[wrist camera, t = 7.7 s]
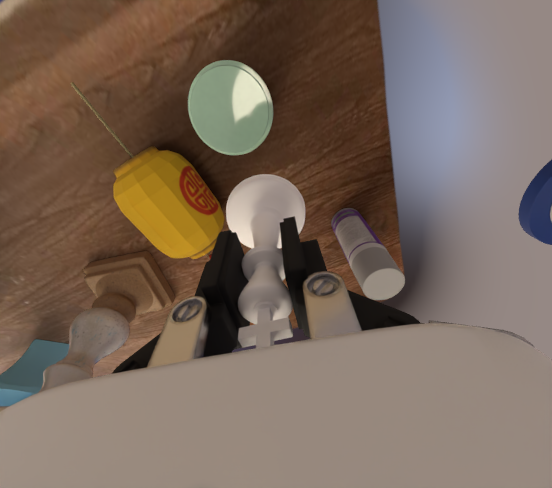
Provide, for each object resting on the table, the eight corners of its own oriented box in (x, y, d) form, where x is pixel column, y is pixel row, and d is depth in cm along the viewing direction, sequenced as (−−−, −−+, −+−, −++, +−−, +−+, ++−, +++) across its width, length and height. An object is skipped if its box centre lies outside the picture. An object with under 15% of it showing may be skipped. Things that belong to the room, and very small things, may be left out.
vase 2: (74, 344, 53) (-17, 466, 36) (77, 366, 57) (-4, 486, 40) (31, 338, 52) (-85, 462, 35) (37, 361, 55) (-64, 482, 38)
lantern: (256, 303, 34) (52, 55, 19) (201, 316, 38) (-1, 119, 24) (270, 254, 41) (132, 51, 27) (223, 269, 45) (82, 100, 31)
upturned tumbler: (212, 54, 28) (192, 43, 21) (280, 81, 30) (285, 79, 22) (200, 129, 32) (180, 142, 25) (261, 149, 34) (259, 167, 26)
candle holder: (176, 298, 47) (108, 458, 27) (121, 308, 48) (16, 471, 28) (148, 249, 41) (35, 407, 21) (87, 262, 42) (-78, 424, 22)
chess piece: (312, 235, 17) (358, 384, 8) (242, 253, 18) (219, 410, 9) (294, 163, 14) (334, 273, 6) (213, 187, 15) (144, 318, 7)
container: (363, 229, 41) (407, 294, 28) (334, 238, 41) (365, 305, 29) (358, 203, 38) (404, 261, 26) (328, 213, 39) (358, 274, 26)
